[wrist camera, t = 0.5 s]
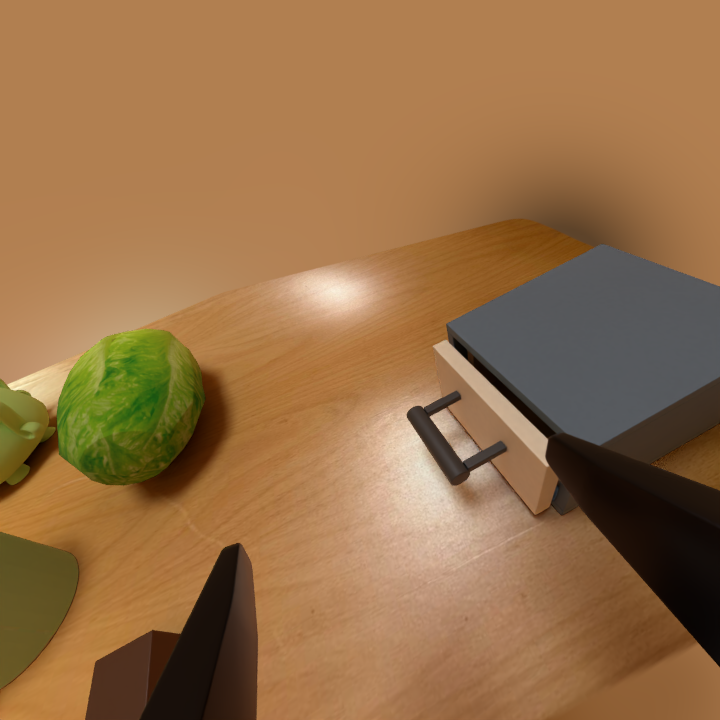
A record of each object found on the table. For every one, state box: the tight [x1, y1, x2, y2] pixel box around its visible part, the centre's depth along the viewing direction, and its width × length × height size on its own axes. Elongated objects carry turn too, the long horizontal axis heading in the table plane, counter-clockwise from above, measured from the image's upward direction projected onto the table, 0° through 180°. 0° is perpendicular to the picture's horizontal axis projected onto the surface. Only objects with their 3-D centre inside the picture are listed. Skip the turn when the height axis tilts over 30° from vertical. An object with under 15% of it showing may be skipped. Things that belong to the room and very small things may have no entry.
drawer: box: [407, 340, 561, 515], centre depth 24 cm, size 18×11×7 cm, turn 112°
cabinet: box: [446, 244, 720, 515], centre depth 24 cm, size 15×13×9 cm
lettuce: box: [57, 329, 206, 485], centre depth 36 cm, size 13×23×12 cm, turn 27°
